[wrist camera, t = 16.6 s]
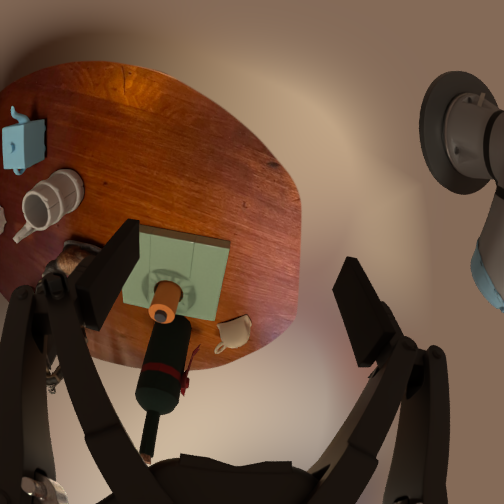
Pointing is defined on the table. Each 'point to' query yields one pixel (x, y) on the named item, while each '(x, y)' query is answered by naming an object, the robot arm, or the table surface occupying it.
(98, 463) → the robot arm
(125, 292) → the green peg socket base
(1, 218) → the cup
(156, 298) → the orange cylinder
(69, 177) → the mug
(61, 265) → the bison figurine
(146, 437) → the wine bottle
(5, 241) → the table surface
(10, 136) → the teapot
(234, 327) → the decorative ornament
